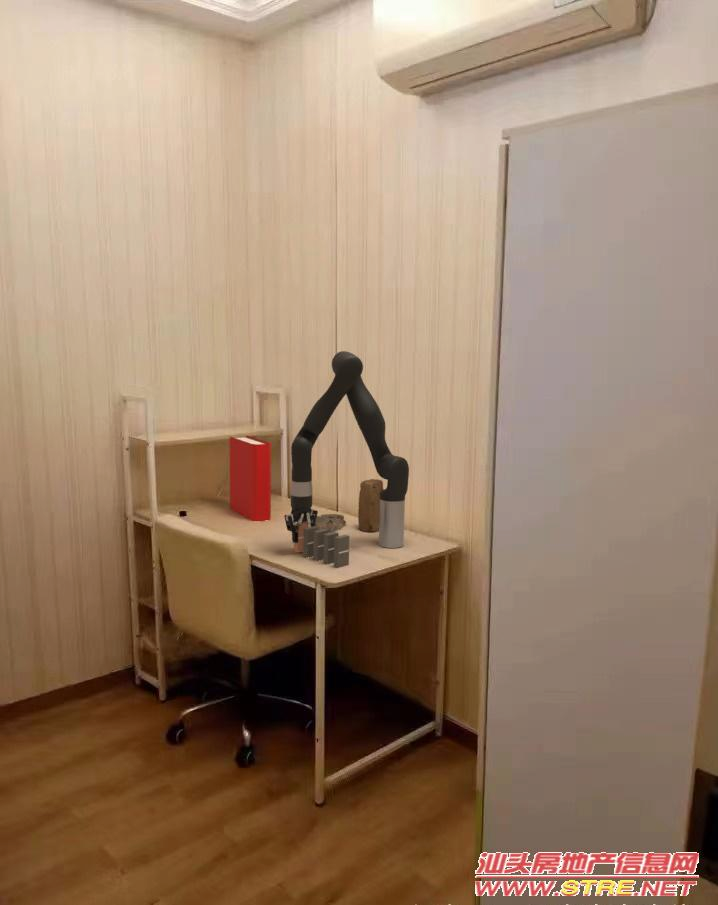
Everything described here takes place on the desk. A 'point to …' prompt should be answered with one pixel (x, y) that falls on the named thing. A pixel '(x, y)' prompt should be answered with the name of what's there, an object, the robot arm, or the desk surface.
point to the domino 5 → (341, 551)
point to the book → (250, 477)
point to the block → (369, 504)
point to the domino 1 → (300, 537)
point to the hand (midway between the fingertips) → (301, 540)
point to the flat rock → (330, 522)
